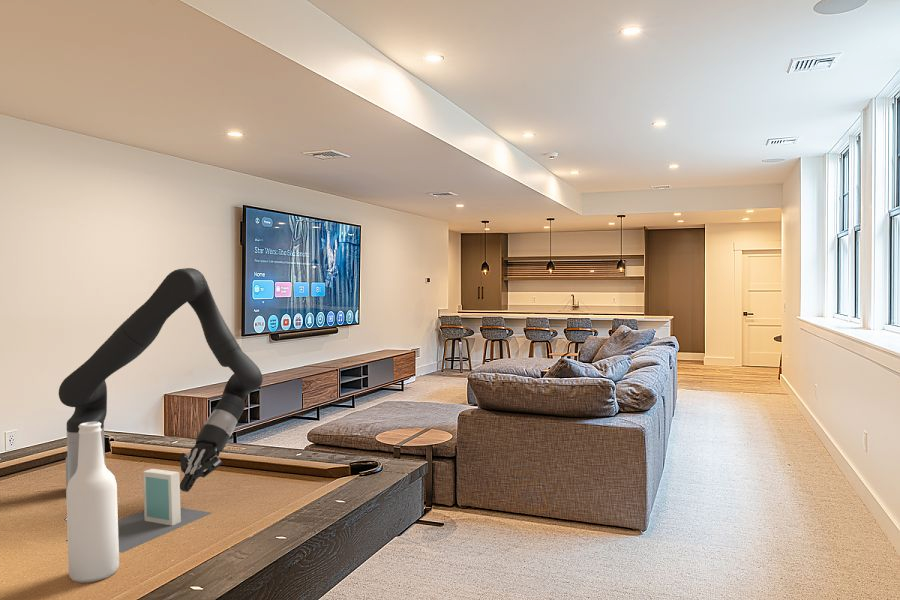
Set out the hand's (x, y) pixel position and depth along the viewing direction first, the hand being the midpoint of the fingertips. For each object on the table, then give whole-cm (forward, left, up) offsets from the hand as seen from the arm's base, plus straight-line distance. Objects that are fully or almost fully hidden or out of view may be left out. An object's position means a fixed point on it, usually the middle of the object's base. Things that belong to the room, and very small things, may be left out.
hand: (183, 490), depth 163 cm
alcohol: (+10, -32, -6) cm, 34 cm away
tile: (0, -6, -6) cm, 9 cm away
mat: (-2, -10, -6) cm, 12 cm away
